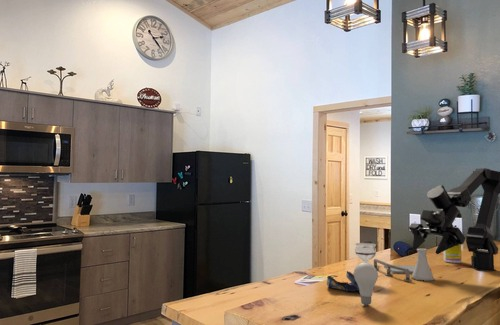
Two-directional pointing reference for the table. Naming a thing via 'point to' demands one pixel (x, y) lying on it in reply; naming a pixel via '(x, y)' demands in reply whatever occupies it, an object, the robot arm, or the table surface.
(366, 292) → the lightbulb
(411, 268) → the slate coaster
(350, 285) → the snack package
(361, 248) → the wineglass
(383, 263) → the bent rail
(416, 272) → the flask
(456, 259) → the supplement bottle
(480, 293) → the table surface
